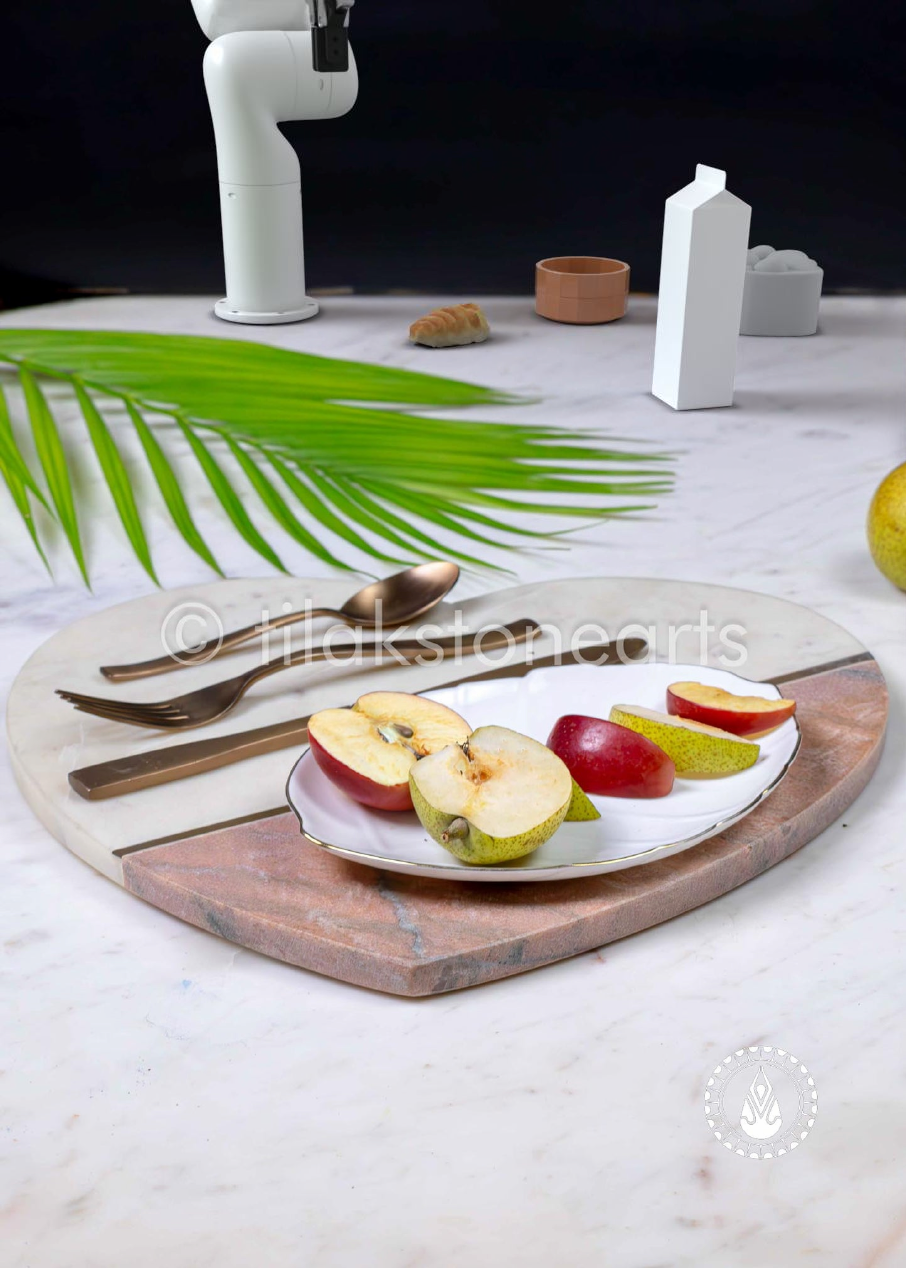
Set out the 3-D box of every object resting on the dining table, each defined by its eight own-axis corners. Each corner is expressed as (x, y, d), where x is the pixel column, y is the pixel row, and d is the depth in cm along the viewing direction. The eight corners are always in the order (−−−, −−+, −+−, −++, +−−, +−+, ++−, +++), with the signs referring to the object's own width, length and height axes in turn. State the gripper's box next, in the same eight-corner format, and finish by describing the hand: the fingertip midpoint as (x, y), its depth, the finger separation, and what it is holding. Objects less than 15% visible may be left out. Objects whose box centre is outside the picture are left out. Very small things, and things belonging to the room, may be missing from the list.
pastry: (434, 353, 150) (433, 318, 148) (394, 342, 154) (393, 308, 153) (495, 339, 156) (495, 306, 154) (455, 329, 160) (455, 296, 158)
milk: (676, 411, 131) (694, 173, 121) (650, 394, 137) (666, 164, 127) (733, 406, 133) (756, 170, 123) (706, 389, 138) (725, 161, 128)
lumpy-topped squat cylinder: (820, 337, 158) (829, 261, 154) (707, 334, 159) (714, 258, 155) (805, 316, 167) (814, 244, 163) (698, 313, 168) (705, 242, 164)
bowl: (518, 309, 169) (520, 260, 167) (596, 301, 174) (599, 253, 171) (562, 329, 160) (565, 278, 158) (643, 320, 164) (647, 270, 162)
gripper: (260, -140, 130) (270, 67, 138) (313, -150, 118) (320, 78, 126) (333, -137, 133) (339, 66, 141) (393, -147, 121) (395, 76, 129)
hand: (330, 71), depth 133 cm, fingers closed
